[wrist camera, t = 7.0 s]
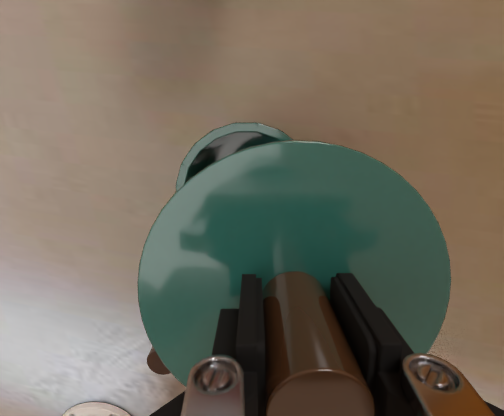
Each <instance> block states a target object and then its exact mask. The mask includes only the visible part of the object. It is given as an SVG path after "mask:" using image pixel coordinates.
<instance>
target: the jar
mask: <svg viewBox="0 0 504 416" xmlns="http://www.w3.org/2000/svg"><path fill="white" fill-rule="evenodd" d="M290 140H293V139H292V138H290V137H289V136H288V135H286V134H285V133H284V132H282V131H280V130H279V129H276V128H273V127H270V126H267V125H264V124H261V123H232V124H229V125H226V126H223V127H220V128H217V129H215V130H212V131H211V132H209V133H208V134H207V135H205V136H204V137H203V138H202V139H200V140H199V141H198V142H196V143H195V144H194V145H193V146H192V148H191V150H190V151H189V153H188V154H187V156H186V157H185V159H184V160H183V162H182V164H181V166H180V170H179V174H178V178H177V182H176V192H177V191H178V190H179V189H180V188H181V187H182V186H183V185H184V184H185V183H186V182H187V181H188V180H189V179H190V178H192V177H193V176H195V175H196V174H197V173H199V172H200V171H202V170H203V169H204V168H206V167H207V166H209V165H210V164H212V163H214V162H216V161H218V160H220V159H222V158H223V157H225V156H227V155H229V154H232V153H234V152H237V151H240V150H243V149H245V148H248V147H251V146H256V145H260V144H265V143H270V142H278V141H290Z"/></svg>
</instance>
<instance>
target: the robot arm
mask: <svg viewBox="0 0 504 416" xmlns="http://www.w3.org/2000/svg"><path fill="white" fill-rule="evenodd" d="M330 303H331V305H332V308H333V310H334V312H335V314H336V317H337V319H338V321H339V323H340V325H341V328H342V330H343V332H344V334H345V336H346V339H347V341H348V343H349V345H350V347H351V350H352V352H353V354H354V356H355V358H356V361H357V363H358V365H359V367H360V369H361V372H362V374H363V376H364V378H365V380H366V383H367V385H368V387H369V389H370V391H371V394H372V396H373V399H374V402H375V416H504V410H502V409H500V408H498V407H496V406H494V405H492V404H490V403H488V402H486V401H484V400H483V399H482V398H481V397H480V396H479V394H478V393H477V392H476V391H475V389H474V388H473V387H472V385H471V384H470V383H469V382H468V380H467V379H466V378H465V377H464V375H463V374H462V373H461V372H460V371H459V370H458V369H457V368H456V367H455V366H453V365H452V364H450V363H449V362H447V361H445V360H443V359H441V358H439V357H436V356H433V355H430V354H424V353H414V352H413V351H412V349H411V348H410V346H409V345H408V344H407V342H406V341H405V340H404V338H403V337H402V336H401V334H400V333H399V331H398V330H397V329H396V327H395V326H394V325H393V323H392V322H391V321H390V319H389V318H388V317H387V315H386V314H385V312H384V311H383V310H382V309H381V308H379V307H376V306H375V304H374V303H373V301H372V300H371V299H370V297H369V296H368V294H367V293H366V292H365V290H364V289H363V287H362V286H361V284H360V283H359V282H358V280H357V279H356V277H355V276H354V275H353V273H337V274H336V277H332V278H331V285H330ZM264 388H265V332H264V313H263V293H262V278H256V274H242V281H241V292H240V303H239V309H221V310H220V314H219V320H218V325H217V330H216V335H215V340H214V345H213V350H212V355H211V356H208V357H205V358H203V359H201V360H200V361H198V362H197V363H196V364H195V365H194V366H193V367H192V369H191V370H190V373H189V376H188V381H187V386H186V391H184V392H183V393H181V394H180V395H178V396H177V397H176V398H174V399H173V400H171V401H170V402H168V403H167V404H165V405H164V406H163V407H161V408H160V409H158V410H157V411H155V412H154V413H152V414H151V415H150V416H265V415H264ZM62 416H131V415H129V414H128V413H127V412H126V411H124V410H122V409H120V408H119V407H116V406H114V405H111V404H107V403H101V402H87V403H82V404H78V405H76V406H74V407H72V408H70V409H69V410H67V411H66V412H65V413H64V414H63V415H62Z"/></svg>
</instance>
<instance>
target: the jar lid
mask: <svg viewBox="0 0 504 416" xmlns="http://www.w3.org/2000/svg"><path fill="white" fill-rule="evenodd" d="M337 273H353V275H354V276H355V277H356V279H357V280H358V282H359V283H360V284H361V286H362V287H363V289H364V290H365V292H366V293H367V294H368V296H369V297H370V299H371V300H372V301H373V303H374V304H375V306H376V307H379V308H381V309H382V310H383V311H384V312H385V314H386V315H387V317H388V318H389V319H390V321H391V322H392V323H393V325H394V326H395V327H396V329H397V330H398V331H399V333H400V334H401V336H402V337H403V338H404V340H405V341H406V342H407V344H408V345H409V346H410V348H411V349H412V351H413V352H414V353H424V354H427V353H428V352H429V350H430V349H431V347H432V345H433V343H434V341H435V339H436V338H437V336H438V334H439V331H440V329H441V326H442V324H443V321H444V318H445V315H446V311H447V307H448V302H449V297H450V286H451V272H450V259H449V255H448V250H447V245H446V241H445V239H444V236H443V234H442V231H441V228H440V226H439V223H438V221H437V220H436V218H435V216H434V214H433V213H432V211H431V209H430V207H429V206H428V204H427V203H426V202H425V201H424V199H423V198H422V197H421V195H420V194H419V193H418V192H417V190H416V189H415V188H414V187H413V186H411V185H410V184H409V183H408V182H407V181H406V180H405V179H404V178H403V177H402V176H401V175H399V174H398V173H397V172H395V171H394V170H392V169H391V168H389V167H388V166H387V165H385V164H384V163H382V162H380V161H378V160H376V159H374V158H372V157H370V156H368V155H366V154H364V153H362V152H359V151H356V150H353V149H350V148H347V147H344V146H340V145H335V144H330V143H324V142H319V141H302V140H290V141H278V142H270V143H265V144H260V145H256V146H251V147H248V148H245V149H243V150H240V151H237V152H234V153H232V154H229V155H227V156H225V157H223V158H222V159H220V160H218V161H216V162H214V163H212V164H210V165H209V166H207V167H206V168H204V169H203V170H202V171H200V172H199V173H197V174H196V175H195V176H193V177H192V178H190V179H189V180H188V181H187V182H186V183H185V184H184V185H183V186H182V187H181V188H180V189H179V190H178V191H177V192H176V193H175V194H174V195H173V196H172V197H171V199H170V200H169V201H168V202H167V204H166V205H165V206H164V207H163V209H162V210H161V212H160V213H159V215H158V217H157V219H156V220H155V222H154V224H153V225H152V227H151V230H150V232H149V234H148V237H147V239H146V242H145V244H144V247H143V251H142V255H141V260H140V264H139V273H138V302H139V307H140V312H141V317H142V321H143V324H144V327H145V330H146V333H147V336H148V338H149V340H150V342H151V344H152V346H153V348H154V350H155V352H156V353H157V355H158V356H159V358H160V359H161V360H162V362H163V363H164V365H165V366H166V367H167V369H168V370H169V371H170V372H171V373H172V374H173V375H174V376H175V378H176V379H177V380H178V381H180V382H181V383H182V384H183V385H184V386H185V387H186V386H187V381H188V376H189V373H190V370H191V369H192V367H193V366H194V365H195V364H196V363H197V362H198V361H200V360H201V359H203V358H205V357H208V356H211V355H212V350H213V345H214V340H215V335H216V330H217V325H218V320H219V314H220V310H221V309H239V303H240V292H241V281H242V274H256V278H262V293H263V313H264V332H265V388H264V415H265V416H375V402H374V399H373V396H372V394H371V391H370V389H369V387H368V385H367V383H366V380H365V378H364V376H363V374H362V372H361V369H360V367H359V365H358V363H357V361H356V358H355V356H354V354H353V352H352V350H351V347H350V345H349V343H348V341H347V339H346V336H345V334H344V332H343V330H342V328H341V325H340V323H339V321H338V319H337V317H336V314H335V312H334V310H333V308H332V305H331V303H330V285H331V278H332V277H336V274H337Z"/></svg>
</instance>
